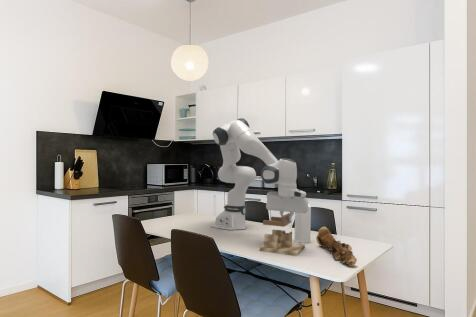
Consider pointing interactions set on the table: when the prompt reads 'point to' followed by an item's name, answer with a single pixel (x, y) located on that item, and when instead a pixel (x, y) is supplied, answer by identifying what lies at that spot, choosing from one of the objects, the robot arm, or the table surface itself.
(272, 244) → the stand
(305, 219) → the milk
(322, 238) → the sculpture
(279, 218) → the brown u-shaped block
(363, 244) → the table surface
